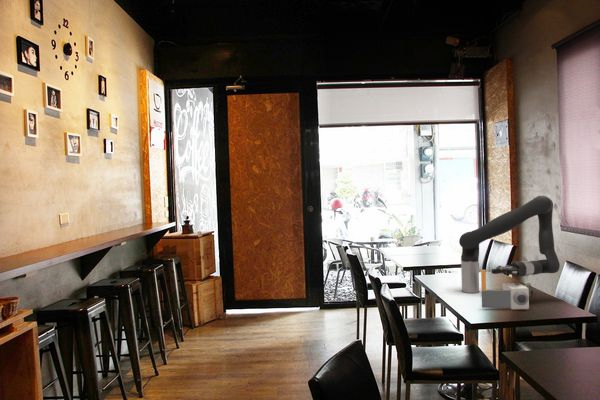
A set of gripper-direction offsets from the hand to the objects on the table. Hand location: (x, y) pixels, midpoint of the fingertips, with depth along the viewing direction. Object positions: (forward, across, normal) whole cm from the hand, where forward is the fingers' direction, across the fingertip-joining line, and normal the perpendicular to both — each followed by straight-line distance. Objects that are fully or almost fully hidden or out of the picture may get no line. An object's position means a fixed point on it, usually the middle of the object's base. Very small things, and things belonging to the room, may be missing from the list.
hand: (492, 271), depth 245 cm
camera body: (-10, +4, +17) cm, 20 cm away
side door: (+2, +5, +17) cm, 17 cm away
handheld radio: (-26, -9, +18) cm, 33 cm away
